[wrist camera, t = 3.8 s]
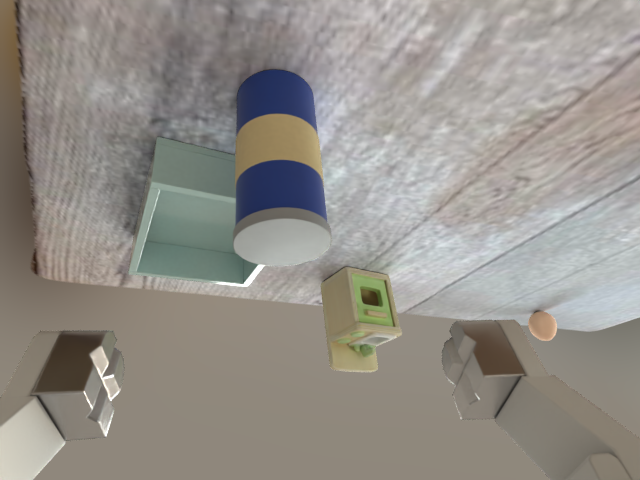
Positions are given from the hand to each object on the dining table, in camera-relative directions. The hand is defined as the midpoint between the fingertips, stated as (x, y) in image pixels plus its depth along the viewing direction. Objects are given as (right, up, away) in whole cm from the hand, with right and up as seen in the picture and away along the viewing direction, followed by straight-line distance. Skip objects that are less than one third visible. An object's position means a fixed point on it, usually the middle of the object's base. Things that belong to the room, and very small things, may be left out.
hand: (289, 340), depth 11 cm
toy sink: (+6, -3, +55) cm, 55 cm away
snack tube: (-3, +13, +23) cm, 27 cm away
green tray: (-11, +6, +35) cm, 37 cm away
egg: (+45, -12, +78) cm, 91 cm away
